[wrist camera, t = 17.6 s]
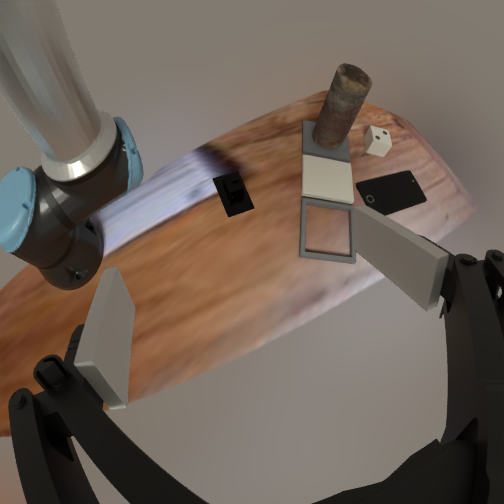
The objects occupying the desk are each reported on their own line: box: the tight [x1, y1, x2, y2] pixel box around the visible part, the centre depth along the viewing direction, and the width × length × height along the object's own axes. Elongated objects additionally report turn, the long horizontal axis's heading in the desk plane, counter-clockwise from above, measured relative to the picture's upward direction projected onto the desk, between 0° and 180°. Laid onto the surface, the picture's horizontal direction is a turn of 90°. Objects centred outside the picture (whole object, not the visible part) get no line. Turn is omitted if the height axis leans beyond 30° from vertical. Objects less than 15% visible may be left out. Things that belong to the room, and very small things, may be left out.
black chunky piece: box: [213, 171, 254, 217], centre depth 55 cm, size 12×7×5 cm, turn 22°
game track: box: [299, 120, 356, 264], centre depth 58 cm, size 11×34×1 cm, turn 174°
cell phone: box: [356, 171, 427, 216], centre depth 60 cm, size 9×18×1 cm, turn 111°
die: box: [364, 126, 392, 157], centre depth 62 cm, size 5×5×5 cm
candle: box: [312, 63, 372, 149], centre depth 52 cm, size 8×7×20 cm
